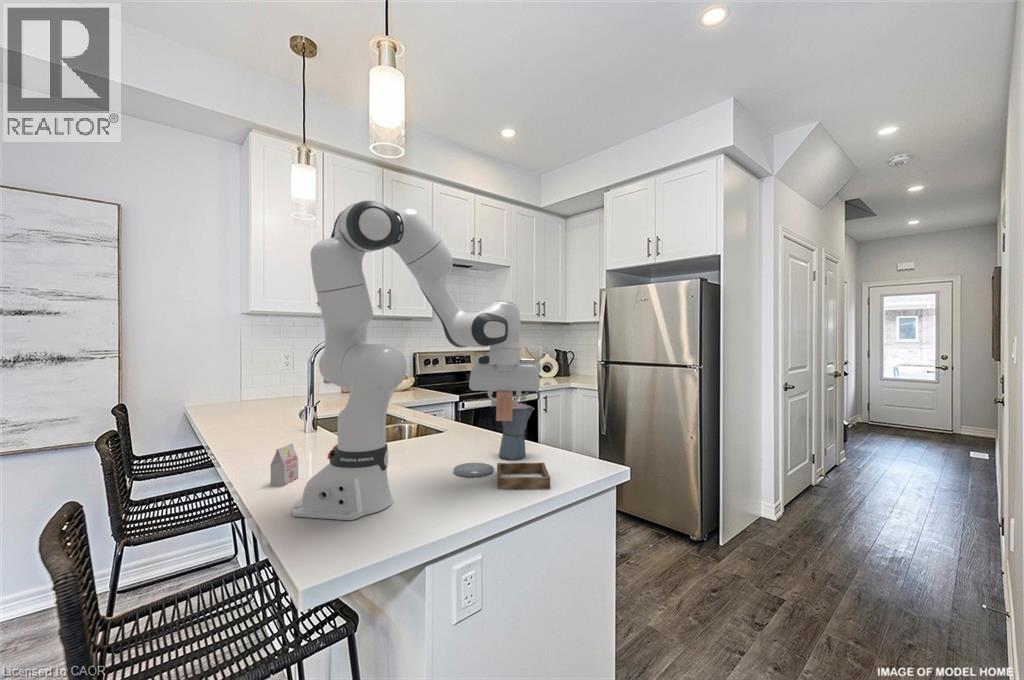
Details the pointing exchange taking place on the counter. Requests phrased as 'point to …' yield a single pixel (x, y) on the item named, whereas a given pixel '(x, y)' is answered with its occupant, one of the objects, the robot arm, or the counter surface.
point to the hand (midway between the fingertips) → (504, 406)
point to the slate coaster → (473, 470)
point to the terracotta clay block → (504, 406)
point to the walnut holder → (522, 481)
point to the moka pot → (513, 432)
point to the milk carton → (284, 466)
